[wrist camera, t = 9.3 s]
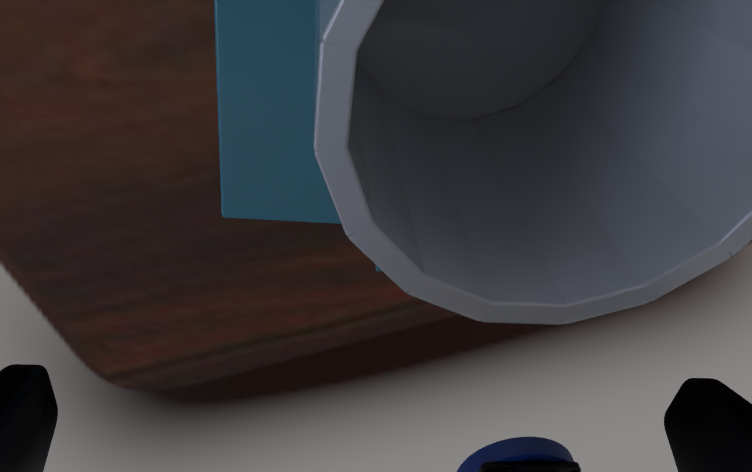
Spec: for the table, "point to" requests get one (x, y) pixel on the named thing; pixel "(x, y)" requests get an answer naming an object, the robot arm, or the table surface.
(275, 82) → the container
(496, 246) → the cup
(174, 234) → the table surface
